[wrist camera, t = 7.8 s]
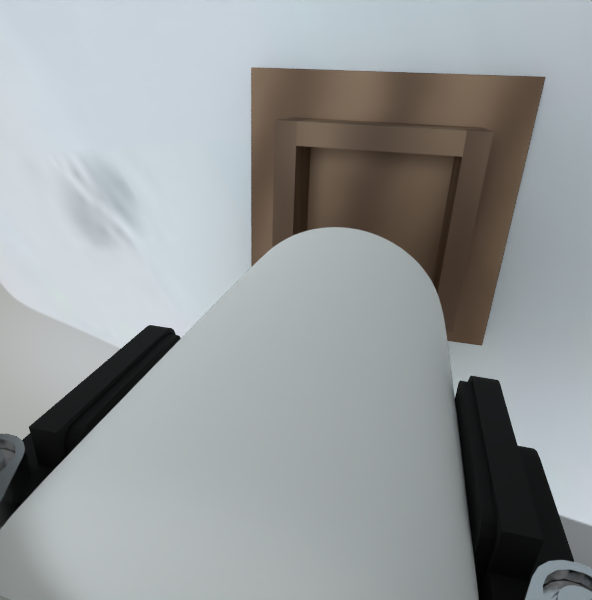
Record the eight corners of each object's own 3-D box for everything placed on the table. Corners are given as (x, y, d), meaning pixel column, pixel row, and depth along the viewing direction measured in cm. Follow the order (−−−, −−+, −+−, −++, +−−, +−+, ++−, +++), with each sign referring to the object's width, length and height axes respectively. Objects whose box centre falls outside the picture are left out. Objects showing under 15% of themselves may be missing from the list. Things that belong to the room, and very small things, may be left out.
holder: (539, 77, 25) (568, 73, 20) (479, 337, 31) (491, 378, 27) (257, 68, 28) (226, 62, 23) (256, 306, 34) (232, 338, 30)
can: (443, 409, 15) (502, 1146, 5) (259, 399, 17) (-15, 921, 6) (446, 216, 13) (591, 835, 2) (230, 227, 14) (-303, 600, 4)
